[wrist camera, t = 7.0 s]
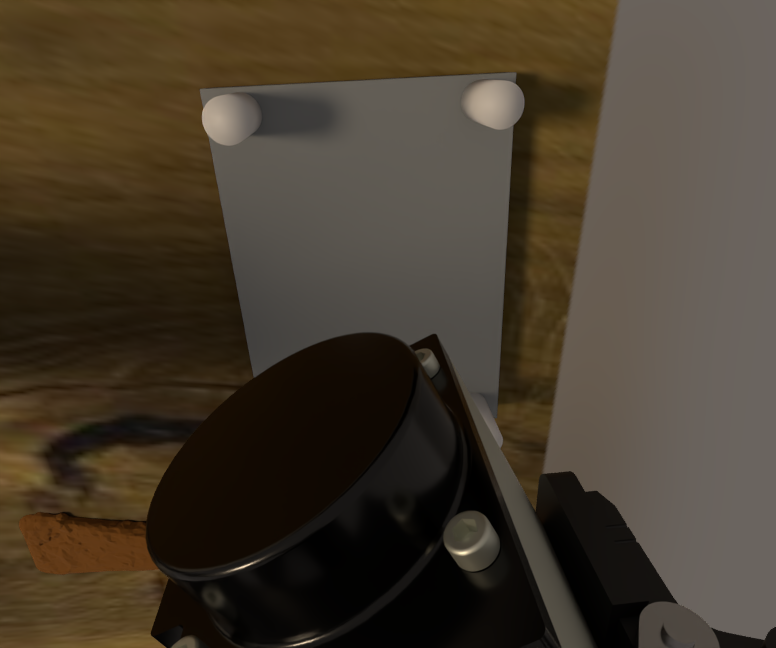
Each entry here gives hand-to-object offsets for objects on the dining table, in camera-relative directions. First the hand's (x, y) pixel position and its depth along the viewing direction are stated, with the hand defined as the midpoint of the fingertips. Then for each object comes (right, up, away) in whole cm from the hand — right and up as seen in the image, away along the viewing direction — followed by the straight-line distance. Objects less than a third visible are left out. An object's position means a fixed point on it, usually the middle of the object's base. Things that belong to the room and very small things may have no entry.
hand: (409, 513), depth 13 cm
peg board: (-1, +8, +16) cm, 17 cm away
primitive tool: (-16, -10, +24) cm, 30 cm away
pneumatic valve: (0, +2, +4) cm, 5 cm away
